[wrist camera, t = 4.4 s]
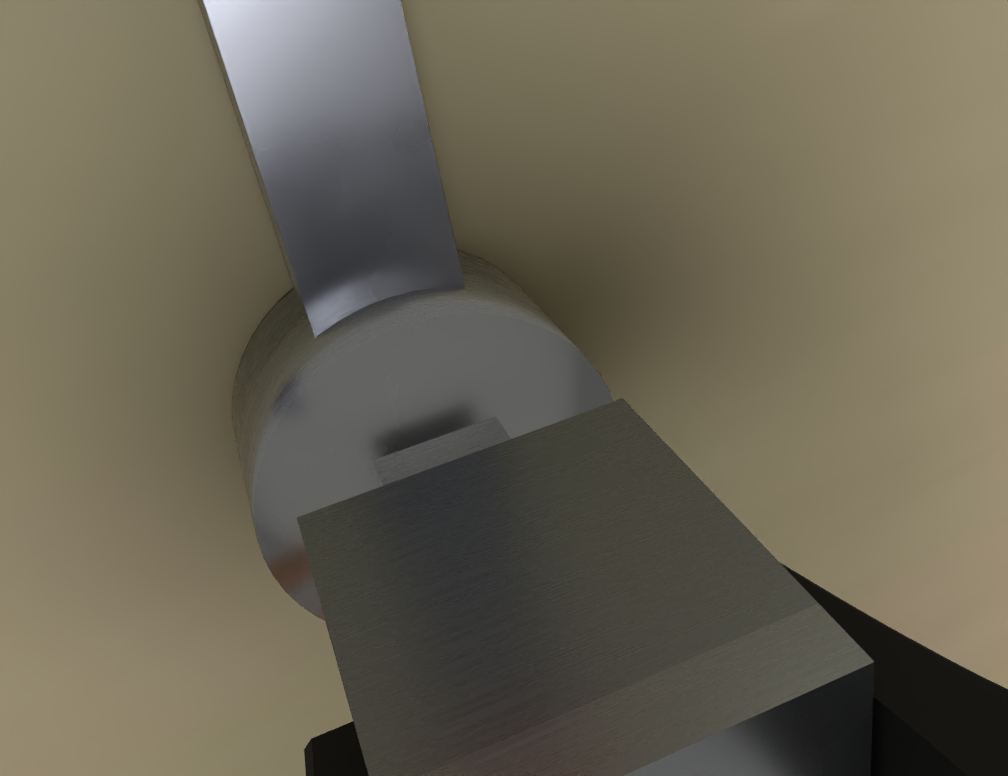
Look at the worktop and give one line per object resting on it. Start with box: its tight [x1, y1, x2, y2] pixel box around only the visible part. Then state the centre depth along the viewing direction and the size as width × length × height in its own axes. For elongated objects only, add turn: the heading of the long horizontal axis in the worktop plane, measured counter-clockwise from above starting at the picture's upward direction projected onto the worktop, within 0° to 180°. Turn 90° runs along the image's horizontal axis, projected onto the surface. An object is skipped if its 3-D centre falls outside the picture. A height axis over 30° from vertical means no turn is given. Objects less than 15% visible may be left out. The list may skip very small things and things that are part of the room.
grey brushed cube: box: [297, 398, 875, 776], centre depth 11 cm, size 4×4×5 cm
